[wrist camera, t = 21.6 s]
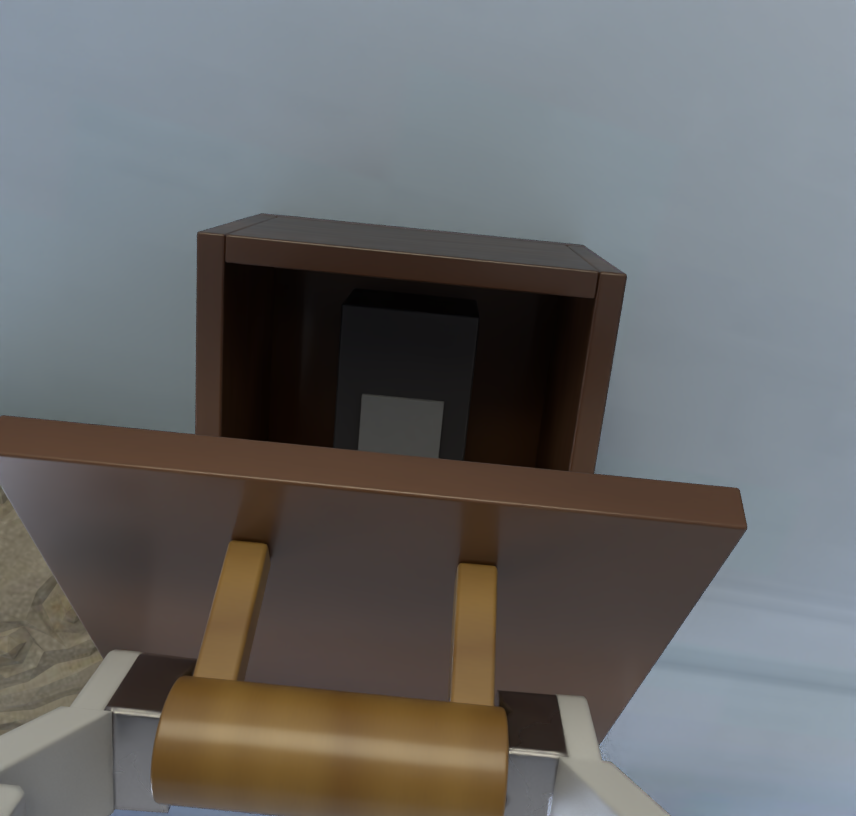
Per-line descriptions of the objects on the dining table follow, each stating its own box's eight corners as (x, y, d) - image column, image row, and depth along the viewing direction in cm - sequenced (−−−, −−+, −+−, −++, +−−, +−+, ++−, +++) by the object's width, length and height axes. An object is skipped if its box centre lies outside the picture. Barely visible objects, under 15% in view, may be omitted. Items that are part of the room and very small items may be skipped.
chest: (260, 212, 30) (196, 231, 23) (584, 244, 30) (628, 274, 23) (246, 646, 36) (191, 775, 28) (520, 673, 36) (538, 810, 28)
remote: (353, 287, 30) (340, 305, 27) (477, 299, 30) (480, 318, 27) (332, 618, 34) (318, 671, 31) (441, 629, 34) (439, 682, 31)
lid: (0, 413, 13) (-170, 723, 10) (740, 486, 13) (810, 821, 10) (190, 772, 28) (147, 944, 25) (539, 807, 28) (541, 984, 25)
